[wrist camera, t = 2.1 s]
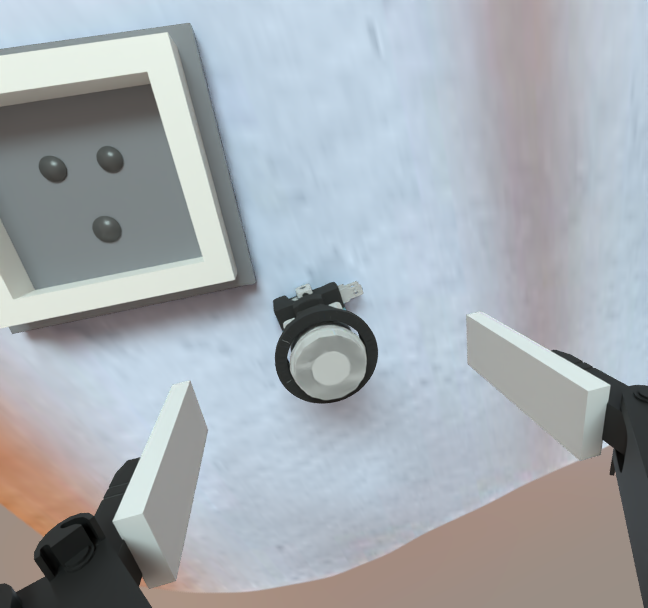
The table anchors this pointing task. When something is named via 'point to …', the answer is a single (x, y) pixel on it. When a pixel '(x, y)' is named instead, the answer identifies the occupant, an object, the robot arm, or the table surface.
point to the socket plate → (112, 179)
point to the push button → (323, 344)
